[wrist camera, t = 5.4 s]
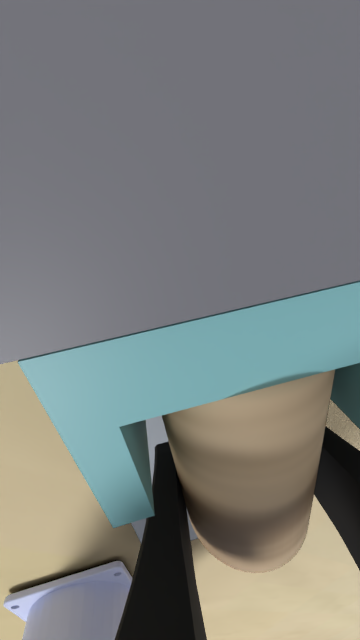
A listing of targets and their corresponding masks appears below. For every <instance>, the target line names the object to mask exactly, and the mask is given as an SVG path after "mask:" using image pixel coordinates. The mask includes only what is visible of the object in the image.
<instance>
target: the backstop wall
mask: <svg viewBox="0 0 360 640" xmlns="http://www.w3.org/2000/svg"><path fill="white" fill-rule="evenodd" d="M359 280H360V0H0V364H3V363H7V362H12V361H16V360H20V359H25V358H29V357H33V356H37V355H42V354H46V353H50V352H55V351H59V350H63V349H67V348H72V347H76V346H80V345H85V344H89V343H93V342H97V341H102V340H106V339H110V338H115V337H119V336H123V335H128V334H132V333H136V332H140V331H145V330H149V329H153V328H158V327H162V326H166V325H170V324H175V323H179V322H183V321H188V320H192V319H196V318H200V317H205V316H209V315H213V314H218V313H222V312H226V311H230V310H235V309H239V308H243V307H248V306H252V305H256V304H261V303H265V302H269V301H273V300H278V299H282V298H286V297H291V296H295V295H299V294H303V293H308V292H312V291H316V290H321V289H325V288H329V287H333V286H338V285H342V284H346V283H351V282H355V281H359Z"/></svg>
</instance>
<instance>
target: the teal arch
mask: <svg viewBox="0 0 360 640" xmlns="http://www.w3.org/2000/svg"><path fill="white" fill-rule="evenodd" d="M18 364H19V365H20V367H21V369H22V371H23V372H24V374H25V376H26V377H27V379H28V381H29V383H30V384H31V386H32V388H33V390H34V391H35V393H36V395H37V397H38V398H39V400H40V402H41V403H42V405H43V407H44V409H45V410H46V412H47V414H48V416H49V417H50V419H51V421H52V423H53V424H54V426H55V428H56V429H57V431H58V433H59V435H60V436H61V438H62V440H63V442H64V443H65V445H66V447H67V449H68V450H69V452H70V454H71V456H72V457H73V459H74V461H75V462H76V464H77V466H78V468H79V469H80V471H81V473H82V475H83V476H84V478H85V480H86V482H87V483H88V485H89V487H90V488H91V490H92V492H93V494H94V495H95V497H96V499H97V501H98V502H99V504H100V506H101V508H102V509H103V511H104V513H105V514H106V516H107V518H108V520H109V521H110V523H111V525H112V527H113V528H115V527H119V526H122V525H125V524H129V523H132V522H135V521H138V520H142V519H145V518H148V517H152V516H155V514H154V503H153V493H152V482H151V471H150V460H149V450H148V439H147V428H146V420H147V419H150V418H154V417H158V416H162V415H165V414H169V413H173V412H177V411H180V410H184V409H188V408H192V407H195V406H199V405H203V404H207V403H210V402H214V401H218V400H222V399H225V398H229V397H233V396H237V395H240V394H244V393H248V392H252V391H255V390H259V389H263V388H267V387H270V386H274V385H278V384H282V383H285V382H289V381H293V380H297V379H301V378H304V377H308V376H312V375H316V374H319V373H323V372H327V371H331V370H334V369H335V374H334V380H333V385H332V391H331V397H330V399H331V400H332V401H333V402H334V403H335V404H336V405H337V406H338V407H339V408H340V409H341V410H342V411H343V412H344V413H345V414H346V415H347V416H348V418H349V419H350V420H351V421H352V422H353V423H354V424H355V425H356V426H357V427H358V428H359V429H360V280H359V281H355V282H351V283H346V284H342V285H338V286H333V287H329V288H325V289H321V290H316V291H312V292H308V293H303V294H299V295H295V296H291V297H286V298H282V299H278V300H273V301H269V302H265V303H261V304H256V305H252V306H248V307H243V308H239V309H235V310H230V311H226V312H222V313H218V314H213V315H209V316H205V317H200V318H196V319H192V320H188V321H183V322H179V323H175V324H170V325H166V326H162V327H158V328H153V329H149V330H145V331H140V332H136V333H132V334H128V335H123V336H119V337H115V338H110V339H106V340H102V341H97V342H93V343H89V344H85V345H80V346H76V347H72V348H67V349H63V350H59V351H55V352H50V353H46V354H42V355H37V356H33V357H29V358H25V359H20V360H19V361H18Z"/></svg>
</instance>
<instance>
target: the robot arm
mask: <svg viewBox="0 0 360 640" xmlns="http://www.w3.org/2000/svg"><path fill="white" fill-rule="evenodd" d="M152 493H153V503H154V514H155V516H152V517H148V518H146V523H145V528H144V533H143V538H142V543H141V547H140V551H139V555H138V559H137V564H136V567H135V571H134V575H133V578H132V577H131V575H130V574H129V572H128V570H127V569H126V567H125V565H124V564H123V563H122V562H121V561H114V562H111V563H108V564H104V565H101V566H98V567H95V568H92V569H89V570H85V571H82V572H79V573H76V574H73V575H70V576H66V577H63V578H60V579H57V580H54V581H51V582H47V583H44V584H41V585H38V586H35V587H32V588H28V589H25V590H22V591H19V592H16V593H13V594H10V595H8V596H7V597H6V598H5V601H4V607H5V608H7V609H8V610H10V611H11V612H13V613H14V614H15V615H17V616H18V617H20V618H21V619H23V620H24V621H25V622H26V625H25V630H24V634H23V639H22V640H207V638H206V633H205V628H204V623H203V617H202V612H201V607H200V601H199V596H198V591H197V586H196V579H195V572H194V565H193V557H192V549H191V540H190V532H189V524H188V516H187V508H186V504H185V500H184V496H183V493H182V489H181V485H180V482H179V478H178V474H177V470H176V467H175V463H174V459H173V456H172V452H171V448H170V445H169V441H168V442H164V443H161V444H157V445H156V446H155V460H154V473H153V482H152ZM314 495H315V496H316V498H317V499H318V501H319V503H320V504H321V506H322V507H323V509H324V510H325V512H326V513H327V515H328V516H329V518H330V519H331V521H332V522H333V524H334V526H335V527H336V529H337V531H338V532H339V534H340V536H341V537H342V539H343V541H344V543H345V544H346V546H347V548H348V550H349V552H350V553H351V555H352V557H353V559H354V561H355V563H356V564H357V566H358V568H359V570H360V451H359V450H358V449H356V448H355V447H353V446H352V445H351V444H349V443H348V442H346V441H345V440H344V439H342V438H341V437H339V436H338V435H337V434H335V433H334V432H333V431H331V430H330V429H329V428H327V427H326V426H325V432H324V438H323V443H322V449H321V455H320V461H319V467H318V472H317V478H316V484H315V490H314Z"/></svg>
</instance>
